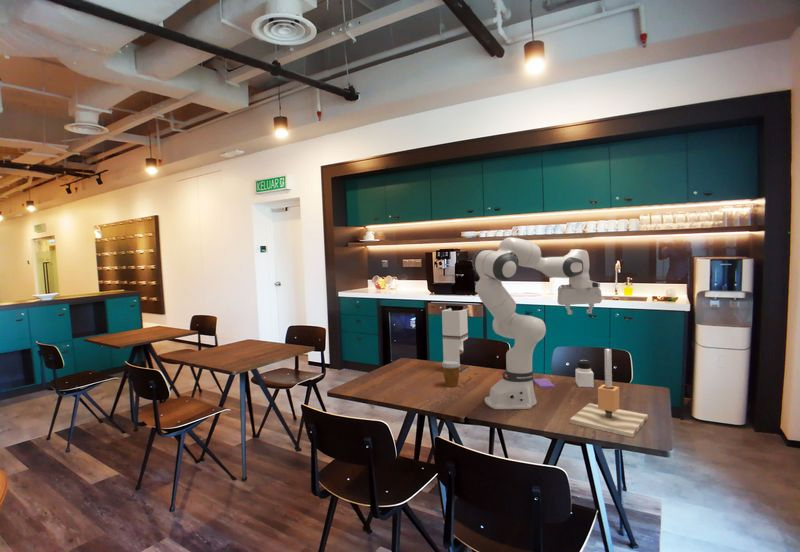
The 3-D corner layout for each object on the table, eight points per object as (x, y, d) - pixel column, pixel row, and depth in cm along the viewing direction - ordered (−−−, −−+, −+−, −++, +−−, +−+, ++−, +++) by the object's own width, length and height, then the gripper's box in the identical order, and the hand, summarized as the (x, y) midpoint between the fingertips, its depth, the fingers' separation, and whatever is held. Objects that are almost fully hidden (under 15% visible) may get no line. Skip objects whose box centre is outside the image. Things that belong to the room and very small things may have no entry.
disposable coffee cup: (462, 387, 213) (461, 364, 212) (443, 388, 213) (442, 364, 213) (459, 382, 222) (459, 359, 222) (441, 382, 223) (440, 360, 222)
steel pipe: (606, 414, 168) (605, 348, 167) (614, 416, 166) (613, 348, 165) (603, 417, 166) (602, 349, 164) (611, 418, 164) (610, 350, 162)
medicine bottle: (594, 387, 206) (593, 362, 206) (578, 387, 208) (578, 362, 207) (590, 383, 213) (590, 359, 213) (575, 382, 215) (575, 359, 214)
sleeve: (603, 404, 170) (602, 384, 169) (619, 407, 166) (619, 387, 165) (598, 408, 165) (597, 388, 165) (614, 411, 161) (614, 391, 161)
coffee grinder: (461, 374, 237) (459, 311, 236) (443, 372, 243) (441, 310, 241) (468, 369, 247) (467, 308, 246) (451, 367, 253) (450, 308, 251)
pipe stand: (589, 406, 181) (589, 403, 181) (647, 418, 167) (647, 414, 167) (569, 422, 165) (569, 419, 165) (632, 437, 150) (632, 433, 150)
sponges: (540, 389, 208) (540, 385, 208) (533, 381, 220) (533, 378, 220) (555, 389, 208) (554, 385, 207) (546, 381, 220) (546, 378, 220)
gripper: (561, 285, 193) (562, 315, 193) (603, 283, 195) (603, 313, 196) (554, 284, 199) (555, 314, 199) (595, 282, 202) (595, 312, 202)
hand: (579, 313), depth 198 cm, fingers open, 8 cm apart
